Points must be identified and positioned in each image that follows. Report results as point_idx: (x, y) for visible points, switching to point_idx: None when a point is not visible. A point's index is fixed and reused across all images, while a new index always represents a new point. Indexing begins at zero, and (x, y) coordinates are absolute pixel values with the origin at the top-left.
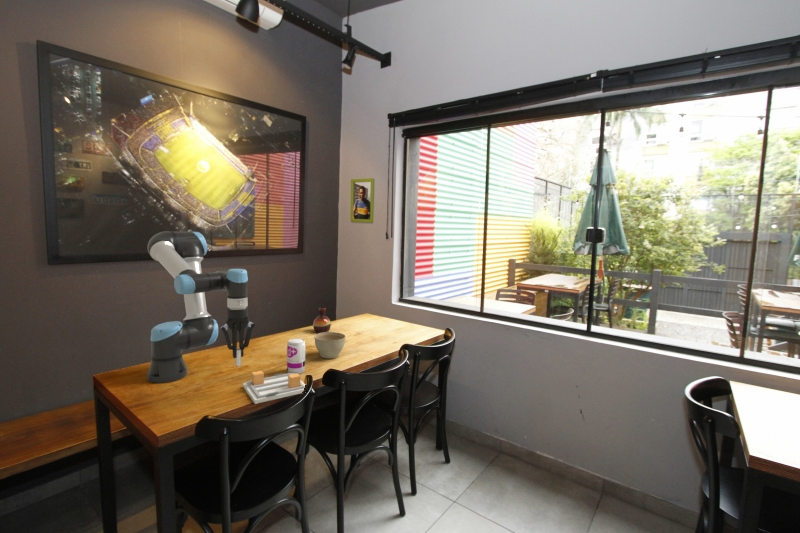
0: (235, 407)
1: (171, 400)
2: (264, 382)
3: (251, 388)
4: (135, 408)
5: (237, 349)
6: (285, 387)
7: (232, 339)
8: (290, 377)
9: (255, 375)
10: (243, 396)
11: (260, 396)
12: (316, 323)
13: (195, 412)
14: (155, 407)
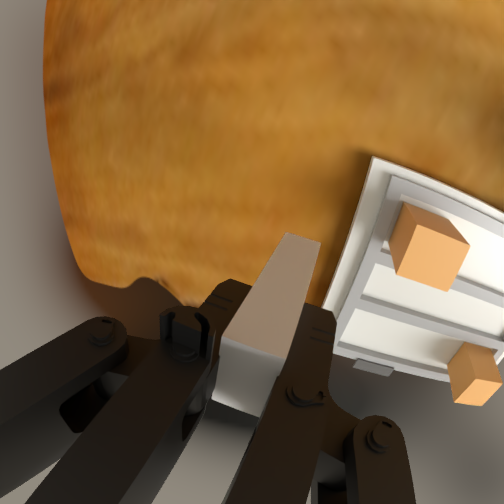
0: None
1: (104, 101)
2: None
3: (362, 258)
4: (48, 108)
5: (236, 378)
6: (453, 341)
7: (68, 466)
8: (458, 396)
9: (403, 274)
10: None
11: None
12: None
13: (140, 241)
14: (72, 129)
